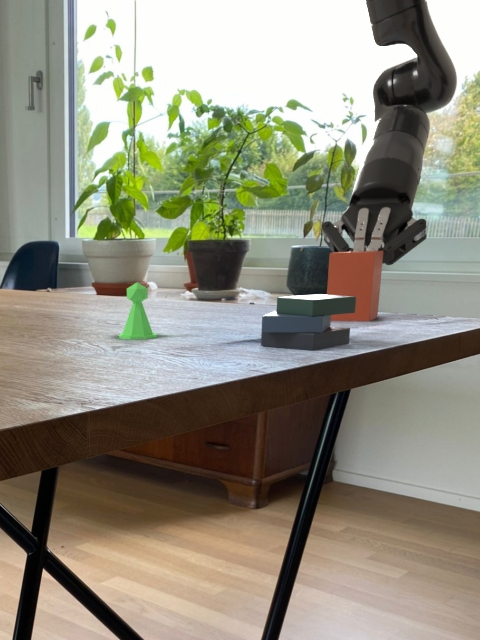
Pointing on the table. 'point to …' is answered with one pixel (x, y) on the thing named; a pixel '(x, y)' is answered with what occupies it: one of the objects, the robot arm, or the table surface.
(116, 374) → the table surface
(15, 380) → the table surface
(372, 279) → the tall orange pillar
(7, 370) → the table surface
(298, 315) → the block pile
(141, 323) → the game piece
